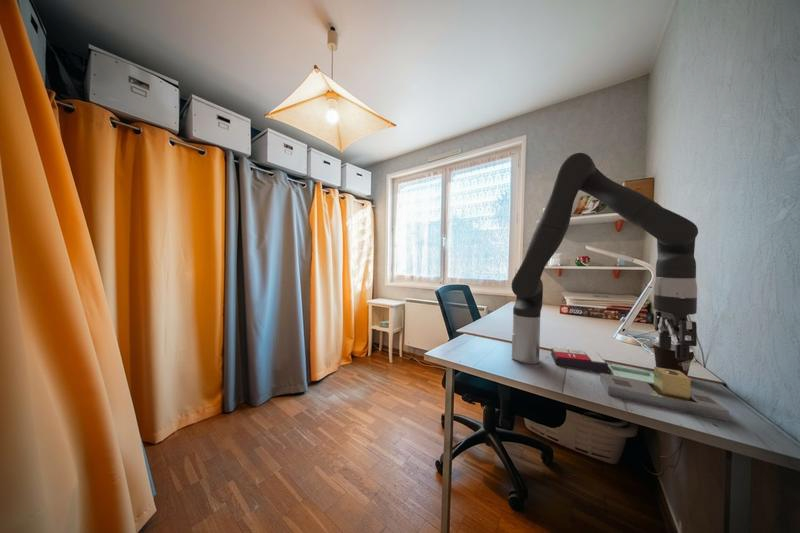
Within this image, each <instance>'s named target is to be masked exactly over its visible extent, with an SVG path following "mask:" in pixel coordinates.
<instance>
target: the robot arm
mask: <svg viewBox="0 0 800 533" xmlns="http://www.w3.org/2000/svg"><path fill="white" fill-rule="evenodd" d="M553 184H554V185H553V187H552V190H551V193H550V196H549V198H548V200H547V202H546V204H545V207H544V208H543V211H542V214H541V216H540V218H539V219H538V223H537V225H536V227H535V229H534V232H533V234H532V237H531V240H530V243H529V244H528V246H527V250H526V253H525V256H524V258H523V261H522V262H521V264H520V266H519V268H518V269H517V271H516V273H515V275H514V276H513V279H512V281H511V291H512V292H513V294H514V295H515V296H516V298H515V303H514V305H513V310H512V311H513V312H512V313H513V314H512V335H511V337H512V338H511V340H512V341H511V359H512V360H515V361H517V362H520V363H524V364H530V365H533V364H534V365H535V364H539V363H540V344H541V343H540V342H541V315H542V314H541V312H542V307H543V295H544V294H543V293H544V284H543V281H542V278H541V277H542V275H543V272H544V270H545V268H546V265H547V264H548V263H549V261H550V260H551V259H552V257H553V256H554V254H555V253H556V251H557V250H558V249H559V248H560V245H561V244H562V242H563V240H564V238H565V235H566V234H567V231H568V229H569V226H570V223H571V218H572V214H573V213H572V212H573V206H574V202H575V200H576V198H577V196H578V193H579V191H581V192H583V193H586V194H587V195H589V196H591V197H593V198H594V199H597V200H598V201H599V202H601V203H602V204H603V205H604V206H607V207H608V208H609V210H612V211H613V212H615V213H616V214H618V215H619V216H621V217H622V218H623V219H625V220H626V221H628V222H629V223H631V224H633V225H635V226H637V227H639V228H641V229H642V230H644V231H645V232H647V233H648V234H649V235H651V236H652V237H653V238H655V239H656V243H657V244H656V247H657V259H656V263H655V279H654V284H653V310H655V316H654V317H655V319H654V330H655V331H656V332H657V335H658V337H659V338H658V342H659V347H660V348H662V349H668V350H669V349H671V344H672V338H673V339H674V342H675V358H677V359H678V360H684V361H688V360H689V352H690V349H691V347H697V345H698V343H697V342H698V340H697V338H698V336H697V335H698V334H697V322H696V321H691V320H688V315H692V316H693V315H695V314H697V311H698V310H697V308H698V306H697V305H698V284H697V262H696V258H695V249H696V238H697V236H698V234H699V228H698V226H697V225H696V223H695V222H693V221H691V220H689V219H688V218H687V217H684V216H683V215H681V214H678V213H676V212H675V211H674V212H673V210H670V209H668V208H665V207H663V206H661V205H660V204H659V203H657V202H656V201H655V200H653V199H651V198H649V197H648V196H646V195H644V194H642V192H641V193H640V192H638V191H636V190H634V189H632V188H630V187H628V186H625V185H622V184H620V183H618V182H615V181H614V180H612V179H610V178H609V177H608V176H606V175H605V174H604V173H603V172H601V170H599V169H598V168H597V167H596V164H595V163H594V159H592V157H591V156H590V155H588V154H587V153H583V152H575V153H573V154H570V155H569V156H568V157H566V158H565V159H564V160H562V162H561V164H560V166H559V167H558V170H557V174H556V177H555V180H554V183H553Z"/></svg>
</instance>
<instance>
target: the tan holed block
mask: <svg viewBox="0 0 800 533" xmlns="http://www.w3.org/2000/svg"><path fill="white" fill-rule="evenodd" d="M653 371H654V372H653V374H654V387H653V390H654V391H655V392H656V393H657V394H658V395H661V396H666V397H671V398H676V399H681V400H686V401H690V390H691V385H692V384H691V383H692V382H691V381H692V379H691V378H690V377H688V376H686V375H684V374H683V373H682V372H680V371H677V370H670V369H664V368H658V367H656V366H654V368H653Z"/></svg>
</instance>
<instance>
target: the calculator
mask: <svg viewBox="0 0 800 533" xmlns="http://www.w3.org/2000/svg"><path fill="white" fill-rule="evenodd" d="M550 352H551V353H550V355H551V357H552V360H553V362H554V364H555V366H558V367H559V366H560V367H565V368H570V369H571V368H572V369H576V370H577V369H578V370H585V371H592V372H593V373H599V374H600V373H603V374H609V371H608V365H609V364H608V363H607V361H606V360H605V359H604V358H603V357H602V356H601V355H600V354H599V353H598V352H597V351H589V350H581V349H576V348H575V349H574V348H572V349H571V348H562V347H552V348H550Z"/></svg>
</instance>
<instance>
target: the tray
mask: <svg viewBox="0 0 800 533" xmlns="http://www.w3.org/2000/svg"><path fill="white" fill-rule="evenodd" d="M608 373H609V375H614V376H619V377H625V378H630V379H635V380H641V381H646V382H651V383H654V372H652V371H648V370H644V369H643V370H642V369H636V368H630V367H624V366H618V365H613V364H608Z"/></svg>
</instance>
